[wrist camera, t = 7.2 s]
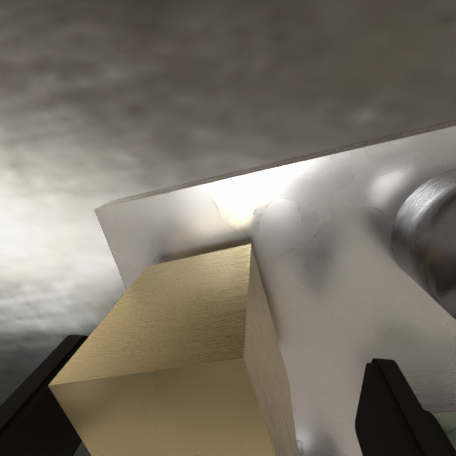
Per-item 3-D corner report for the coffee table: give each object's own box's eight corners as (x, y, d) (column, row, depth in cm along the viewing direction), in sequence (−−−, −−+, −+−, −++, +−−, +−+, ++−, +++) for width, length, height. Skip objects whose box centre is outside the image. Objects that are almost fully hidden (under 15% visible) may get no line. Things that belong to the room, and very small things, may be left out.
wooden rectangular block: (155, 256, 12) (47, 386, 6) (251, 234, 11) (243, 357, 5) (221, 423, 15) (196, 624, 9) (301, 415, 14) (333, 630, 8)
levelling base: (504, 109, 11) (796, 81, 5) (480, 499, 18) (586, 674, 12) (112, 201, 14) (5, 251, 8) (227, 502, 21) (215, 644, 15)
